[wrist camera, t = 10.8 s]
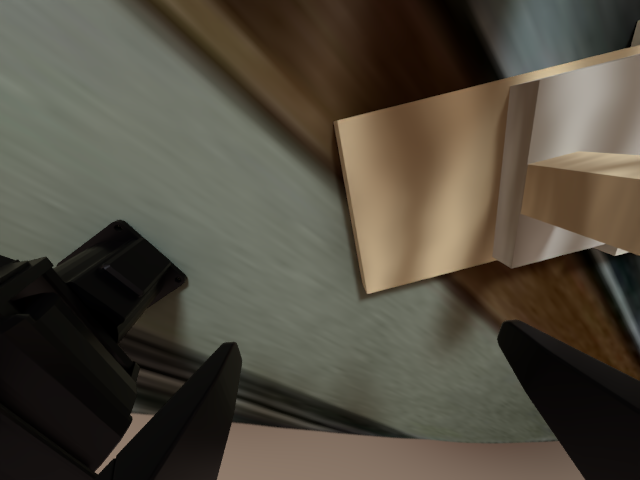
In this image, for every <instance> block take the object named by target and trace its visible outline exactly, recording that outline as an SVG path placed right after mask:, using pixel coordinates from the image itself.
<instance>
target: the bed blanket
mask: <svg viewBox="0 0 640 480" xmlns="http://www.w3.org/2000/svg"><path fill="white" fill-rule="evenodd" d="M603 244H608V245H611V246H614V247H616V248H619V249H622V250H625V251H628V252H631V253H633V254H636V255H639V256H640V54H636V55H632V56H628V57H624V58H620V59H616V60H612V61H608V62H604V63H600V64H596V65H592V66H588V67H584V68H580V69H576V70H572V71H569V72H565V73H561V74H557V75H553V76H549V77H545V78H541V79H537V80H533V81H529V82H525V83H521V84H517V85H513V86H510V94H509V103H508V113H507V122H506V132H505V141H504V150H503V160H502V169H501V179H500V188H499V198H498V207H497V217H496V226H495V236H494V245H493V255H492V257H493V258H495V259H497V260H498V261H500V262H502V263H503V264H505V265H506V266H508V267H510V268H511V269H512V268H516V267H520V266H523V265H527V264H531V263H535V262H539V261H542V260H546V259H550V258H554V257H558V256H561V255H565V254H569V253H573V252H577V251H581V250H584V249H588V248H592V247H596V246H600V245H603Z"/></svg>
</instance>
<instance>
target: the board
mask: <svg viewBox="0 0 640 480" xmlns="http://www.w3.org/2000/svg"><path fill="white" fill-rule="evenodd" d="M636 54H640V45H638V46H634V47H630V48H626V49H622V50H618V51H614V52H610V53H606V54H602V55H598V56H594V57H590V58H586V59H582V60H578V61H574V62H570V63H566V64H562V65H558V66H554V67H550V68H546V69H542V70H538V71H534V72H530V73H526V74H522V75H518V76H514V77H510V78H506V79H502V80H498V81H494V82H490V83H486V84H482V85H478V86H474V87H470V88H466V89H462V90H458V91H454V92H450V93H446V94H442V95H438V96H434V97H430V98H426V99H422V100H418V101H414V102H410V103H406V104H402V105H398V106H394V107H390V108H386V109H382V110H378V111H374V112H370V113H366V114H362V115H358V116H354V117H350V118H346V119H342V120H338V121H334V122H333V123H334V128H335V134H336V139H337V145H338V151H339V156H340V162H341V167H342V173H343V178H344V184H345V190H346V195H347V201H348V206H349V212H350V217H351V223H352V229H353V234H354V240H355V245H356V251H357V257H358V262H359V268H360V273H361V279H362V284H363V286H364V288H365V291H366V293H367V294H370V293H373V292H377V291H381V290H385V289H389V288H393V287H396V286H400V285H404V284H408V283H412V282H416V281H419V280H423V279H427V278H431V277H435V276H439V275H442V274H446V273H450V272H454V271H458V270H462V269H465V268H469V267H473V266H477V265H481V264H484V263H488V262H492V261H496V260H497V259H495V258H493V257H492V255H493V245H494V236H495V226H496V217H497V207H498V198H499V188H500V179H501V169H502V160H503V150H504V141H505V132H506V122H507V113H508V103H509V94H510V86H513V85H517V84H521V83H525V82H529V81H533V80H537V79H541V78H545V77H549V76H553V75H557V74H561V73H565V72H569V71H572V70H576V69H580V68H584V67H588V66H592V65H596V64H600V63H604V62H608V61H612V60H616V59H620V58H624V57H628V56H632V55H636Z"/></svg>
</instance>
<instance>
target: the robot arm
mask: <svg viewBox="0 0 640 480" xmlns="http://www.w3.org/2000/svg"><path fill="white" fill-rule="evenodd" d="M118 225H119V226H121V228H122V229H119V228H118ZM53 266H54V265H53V264H52V263H51V262H50V260H49V259H48V258H47V257H42V258H38V259H34V260H31V261H22V262H20V261H19V260H13V259H10V258H7V257H4V256H1V255H0V480H217V476H218V473H219V469H220V465H221V461H222V457H223V454H224V450H225V446H226V442H227V439H228V435H229V431H230V427H231V423H232V419H233V415H234V410H235V404H236V398H237V392H238V385H239V379H240V373H241V367H242V358H241V354H240V351H239V348H238V345H237V343H236V342H226V343H223V344H222V345H221V346H220V347H219V348H218V349H217V350H216V351H215V352H214V353H213V354H212V355H211V356H210V357H209V358H208V359H207V360H206V362H205V363H204V364H203V365H202V366H201V367H200V368H199V369H198V370H197V371H196V372H195V373H194V374H193V375H192V376H191V377H190V378H189V379H188V381H187V382H186V383H185V384H184V385H183V386H182V387H181V388H180V389H179V390H178V391H177V392H176V393H175V394H174V395H173V396H172V397H171V398H170V400H169V401H168V402H167V403H166V404H165V405H164V406H163V407H162V408H161V409H160V410H159V411H158V412H157V413H156V414H155V415H154V417H152V419H151V420H150V421H149V422H148V423H147V424H146V425H145V426H144V427H143V428H142V429H141V430H140V431H139V432H138V433H137V434H136V435H135V437H134V438H133V439H132V440H131V441H130V442H129V443H128V444H127V445H126V446H125V447H124V448H123V449H122V450H121V451H120V452H119V453H118V455H117V456H116V458H115V459H113V460H112V461H111V462H110V463H109V464H108V465H107V466H106V467H105V468H104V469H103V470H102V471H101V472H100V473H99V474H96V473H95V471H96V470H97V469H98V468H99V467H100V466H101V465H102V463H103V462H104V461H105V459H106V458H107V457H108V456H109V455H110V453H111V452H112V451H113V449H114V448H115V447H116V446H117V444H118V443H119V442H120V441H121V439H122V438H123V436H124V434H125V433H126V431H127V429H128V428H129V426H130V424H131V422H132V416H131V415H130V413H131V411H132V408H133V405H134V402H135V399H136V396H137V387H136V381H137V377H138V373H139V369H140V367H139V366H138V365H137V363H136V362H132V361H131V360H130V358H129V357H128V356H127V355H126V354H125V353H124V351H123V350H122V349H121V348H120V347H119V346H118V343H119V342H120V341H121V340H122V338H123V337H124V336H125V335H126V333H127V332H128V331H129V330H130V329H131V327H132V326H133V325H134V324H135V322H136V321H137V320H138V319H139V317H140V316H141V315H142V314H143V312H144V311H145V310H146V309H147V308H148V307H150V306H151V305H153V304H154V303H156V302H157V301H159V300H160V299H162V298H163V297H164V296H166V295H167V294H169V293H170V292H172V291H173V290H175V289H176V288H178V287H179V286H181V285H182V284H183V283H184V282H185V281H186V279H187V277H186V275H185V274H184V273H183V272H182V271H181V270H179V269H178V268H177V267H176V266H175V265H174V264H173V263H172V262H170V260H169V259H167V258H166V257H165V256H164V255H163V254H162V253H161V252H160V251H158V250H157V249H156V248H155V247H154V246H153V245H152V244H150V243H149V242H148V241H147V240H146V239H144V238H143V237H142V236H141V235H140V234H139V233H138V232H137V231H135V230H134V229H133V228H132V227H131V226H130V225H129V224H128V223H126V222H125V221H123V220H117V221H114V222H113V223H111V224H110V225H108V226H107V227H106V228H104V229H103V230H102V231H100V232H99V233H98V234H96V235H95V236H94V237H92V238H91V239H90V240H88V241H87V242H86V243H84V244H83V245H82V246H81V247H79V248H78V249H77V250H75V251H74V252H73V253H71V254H70V255H69V256H67V257H66V258H65V259H63V260H62V261H61V262H59V263H58V264H57V267H55V268H52V267H53ZM177 277H179V278H181V280H179V279H177ZM497 341H498V344H499V346H500V348H501V350H502V352H503V354H504V355H505V357H506V359H507V361H508V362H509V364H510V366H511V368H512V369H513V371H514V373H515V375H516V376H517V378H518V380H519V382H520V383H521V385H522V387H523V389H524V390H525V392H526V393H527V395H528V396H529V398H530V400H531V401H532V403H533V404H534V405H535V407H536V408H537V410H538V411H539V413H540V414H541V416H542V417H543V419H544V420H545V422H546V423H547V424H548V426H549V427H550V429H551V430H552V432H553V433H554V435H555V436H556V438H557V439H558V441H559V442H560V443H561V445H562V446H563V448H564V449H565V451H566V452H567V454H568V455H569V457H570V458H571V460H572V461H573V462H574V464H575V465H576V467H577V468H578V470H579V471H580V472H581V474H582V476H583V477H584V478H585V480H640V381H638V380H636V379H634V378H632V377H631V376H629V375H627V374H625V373H623V372H621V371H619V370H617V369H615V368H613V367H611V366H609V365H607V364H605V363H603V362H601V361H599V360H597V359H595V358H593V357H591V356H589V355H587V354H585V353H583V352H581V351H579V350H577V349H575V348H573V347H571V346H569V345H567V344H565V343H563V342H561V341H559V340H557V339H555V338H553V337H551V336H549V335H547V334H545V333H543V332H541V331H539V330H538V329H536V328H534V327H532V326H530V325H528V324H526V323H524V322H522V321H519V320H506V321H504V322H503V323H502V326H501V329H500V331H499V334H498V337H497Z"/></svg>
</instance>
